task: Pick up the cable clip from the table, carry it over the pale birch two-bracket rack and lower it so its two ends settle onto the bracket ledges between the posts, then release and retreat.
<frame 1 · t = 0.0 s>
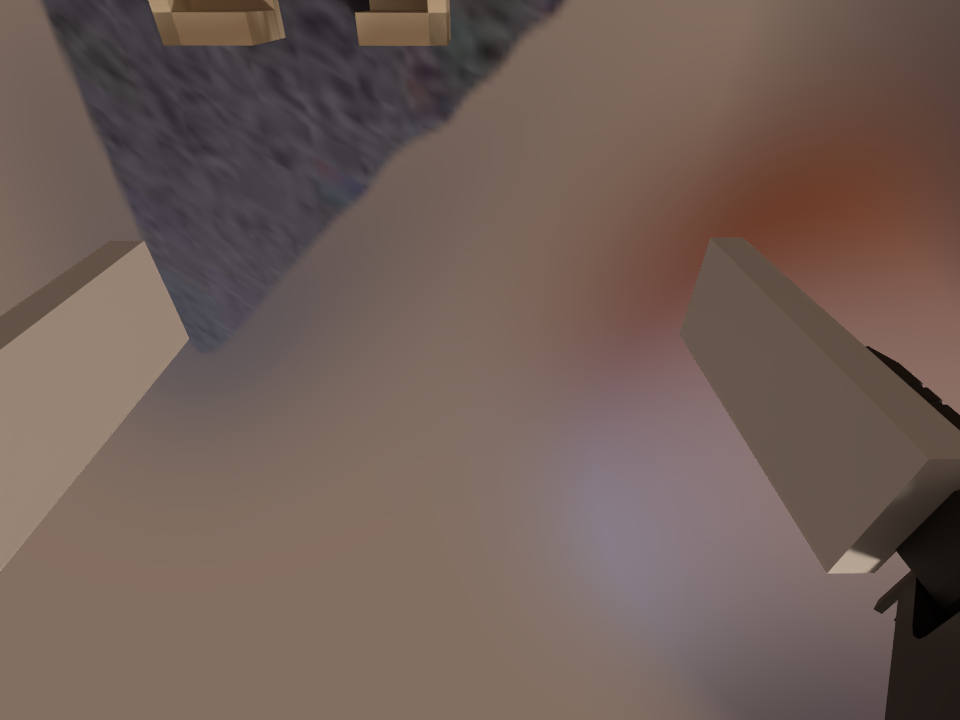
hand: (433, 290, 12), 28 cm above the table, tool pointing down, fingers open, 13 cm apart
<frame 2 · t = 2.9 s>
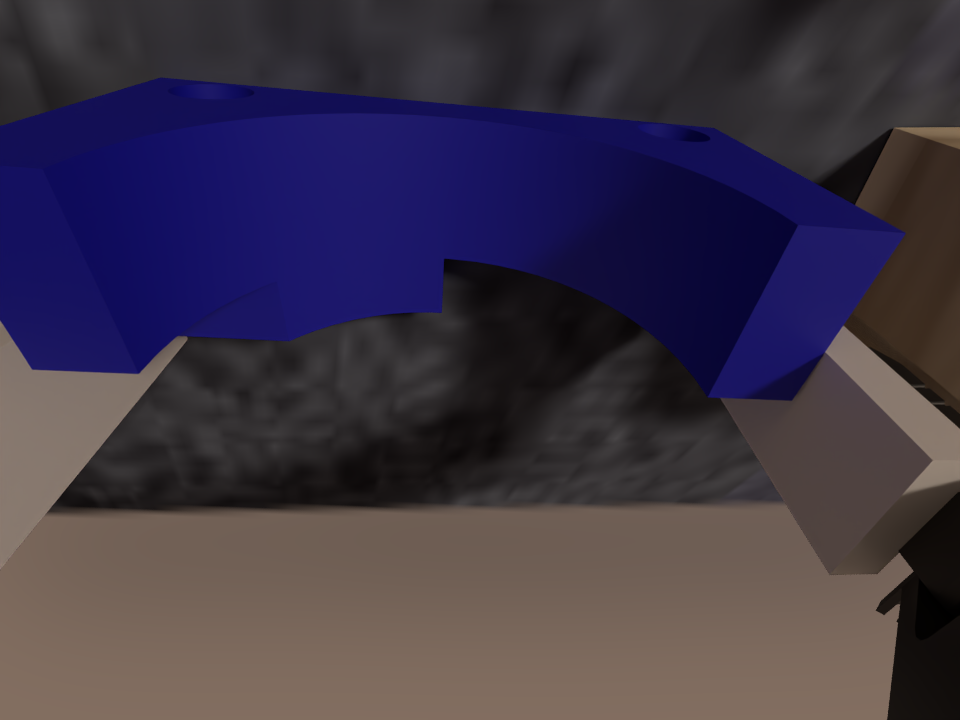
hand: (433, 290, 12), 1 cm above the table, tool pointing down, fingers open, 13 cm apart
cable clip: (446, 201, 12), on the table
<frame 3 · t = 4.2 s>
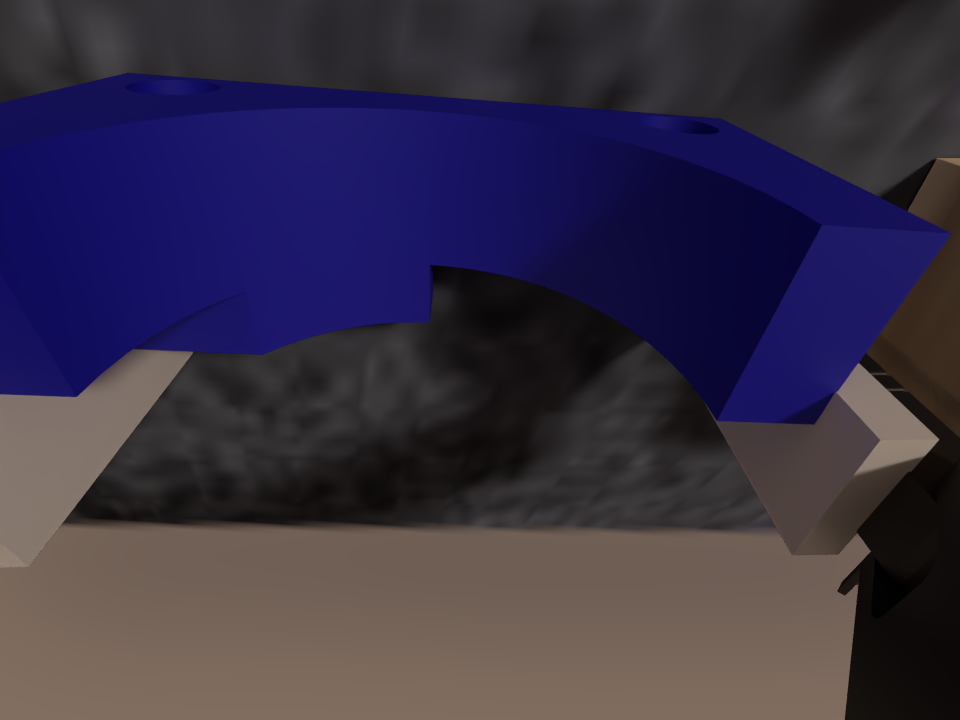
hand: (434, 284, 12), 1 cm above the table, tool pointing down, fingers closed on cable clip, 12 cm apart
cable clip: (434, 203, 11), on the table, touching gripper
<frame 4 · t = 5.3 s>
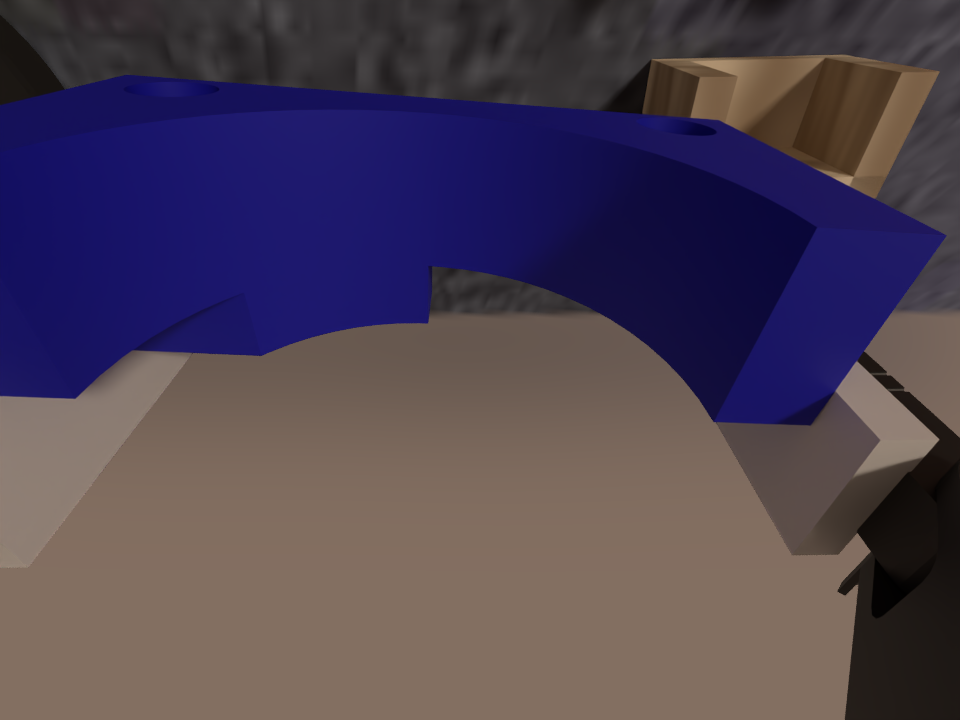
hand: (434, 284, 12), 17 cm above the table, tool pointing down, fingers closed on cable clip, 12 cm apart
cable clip: (433, 204, 11), point 16 cm above the table, touching gripper
when the fingers open (5 cm above the table, at t = 7.5 s): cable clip stays where it is, resting on bracket rack.
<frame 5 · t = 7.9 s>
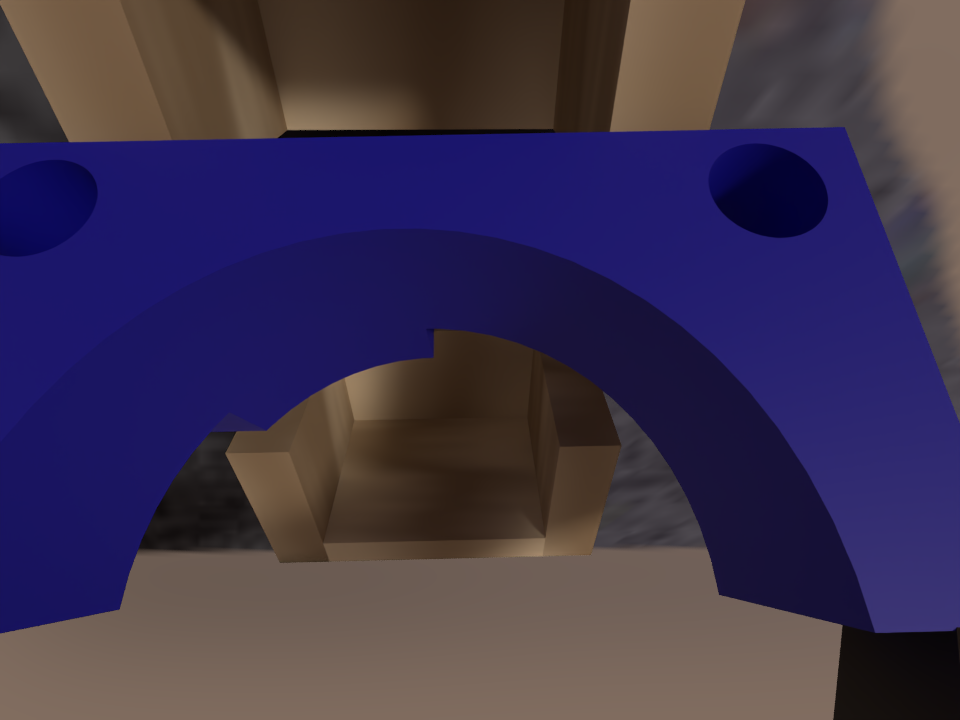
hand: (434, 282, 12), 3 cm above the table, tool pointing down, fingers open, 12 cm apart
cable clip: (422, 226, 9), point 5 cm above the table, touching bracket rack
bracket rack: (431, 230, 14), on the table
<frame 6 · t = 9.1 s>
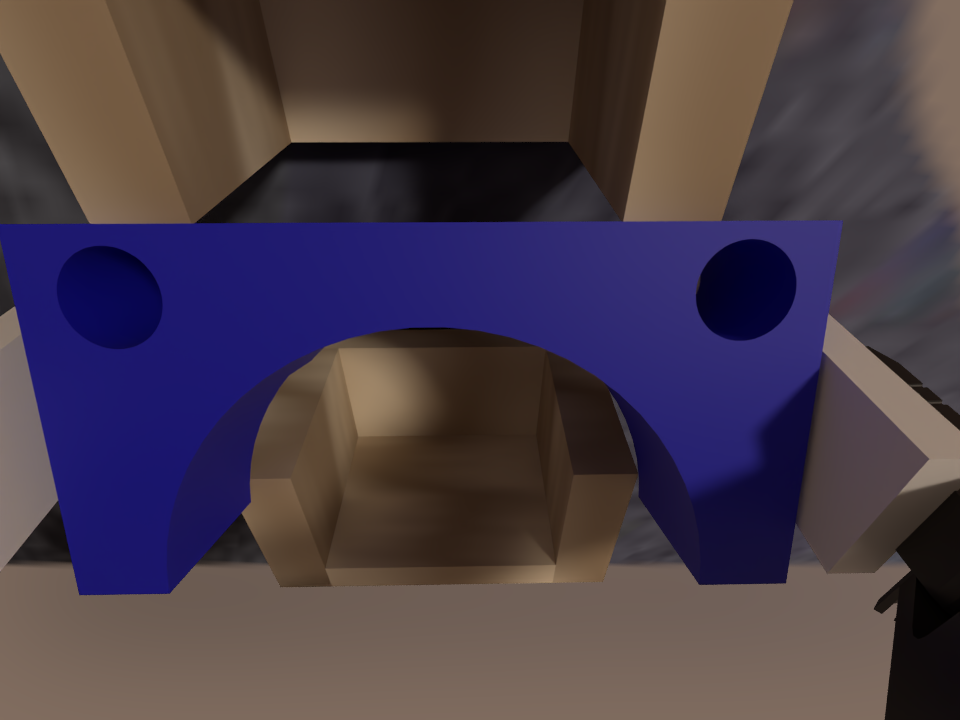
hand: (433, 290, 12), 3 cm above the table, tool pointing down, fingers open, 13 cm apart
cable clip: (437, 219, 9), point 4 cm above the table, touching bracket rack
bracket rack: (439, 244, 14), on the table
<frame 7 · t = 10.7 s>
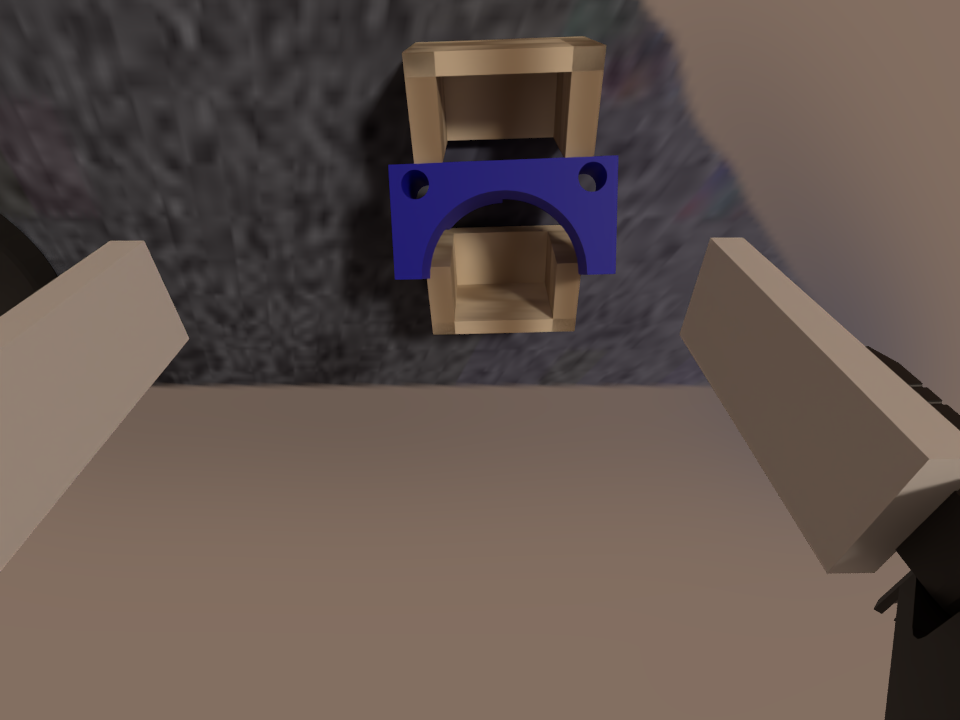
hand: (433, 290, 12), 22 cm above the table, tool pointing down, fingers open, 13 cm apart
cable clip: (501, 165, 27), point 4 cm above the table, touching bracket rack
bracket rack: (500, 183, 31), on the table
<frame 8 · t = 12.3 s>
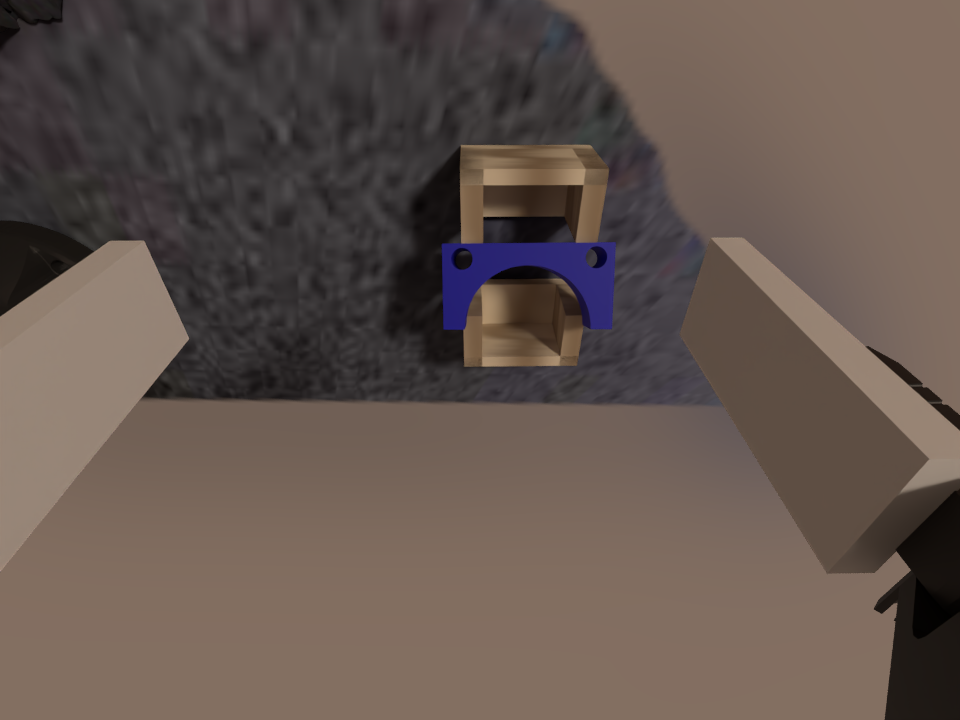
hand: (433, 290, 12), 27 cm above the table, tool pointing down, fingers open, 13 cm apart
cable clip: (525, 242, 35), point 4 cm above the table, touching bracket rack
bracket rack: (519, 247, 39), on the table
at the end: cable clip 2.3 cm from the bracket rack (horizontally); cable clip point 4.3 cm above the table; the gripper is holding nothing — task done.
